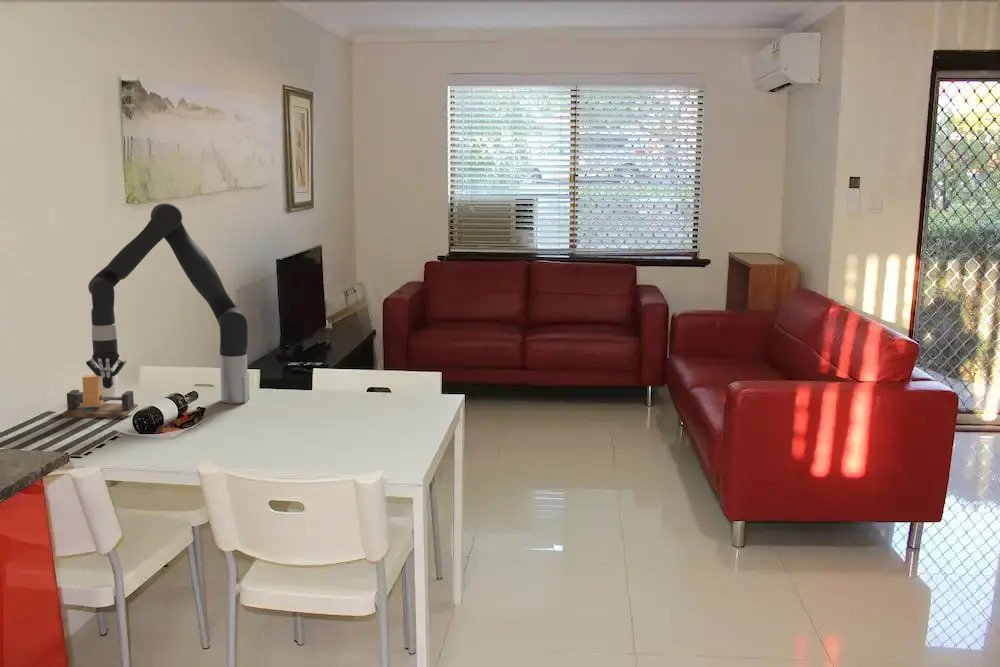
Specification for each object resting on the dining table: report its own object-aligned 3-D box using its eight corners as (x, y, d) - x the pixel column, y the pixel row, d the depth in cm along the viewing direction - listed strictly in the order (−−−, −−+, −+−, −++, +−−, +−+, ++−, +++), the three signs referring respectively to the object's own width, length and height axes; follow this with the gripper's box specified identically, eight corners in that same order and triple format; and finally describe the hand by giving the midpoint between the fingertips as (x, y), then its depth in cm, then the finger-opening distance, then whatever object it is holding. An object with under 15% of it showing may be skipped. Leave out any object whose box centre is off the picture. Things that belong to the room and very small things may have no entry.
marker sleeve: (103, 402, 305) (102, 374, 303) (98, 406, 301) (96, 378, 299) (88, 402, 305) (86, 374, 303) (83, 405, 300) (81, 377, 298)
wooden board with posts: (137, 408, 310) (136, 388, 308) (124, 418, 298) (123, 397, 296) (78, 406, 309) (77, 387, 307) (63, 416, 297) (61, 396, 296)
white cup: (90, 399, 318) (88, 372, 316) (104, 393, 325) (102, 367, 323) (109, 401, 316) (108, 374, 314) (123, 395, 324) (122, 368, 322)
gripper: (128, 335, 302) (132, 385, 305) (88, 334, 301) (92, 384, 305) (120, 340, 295) (123, 391, 298) (79, 339, 294) (83, 390, 298)
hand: (108, 387), depth 301 cm, fingers closed
